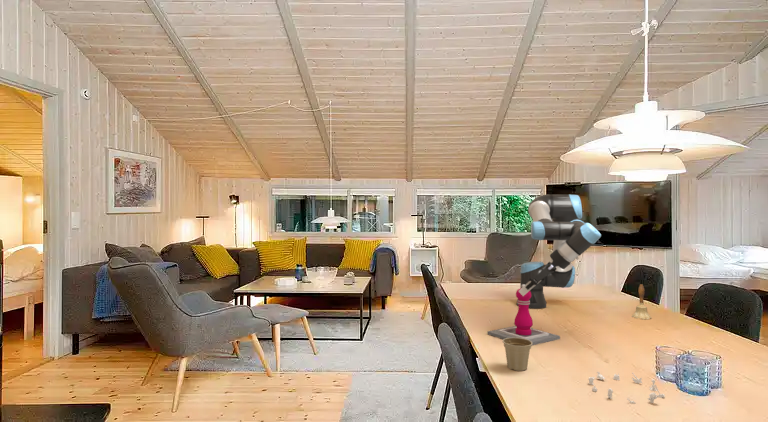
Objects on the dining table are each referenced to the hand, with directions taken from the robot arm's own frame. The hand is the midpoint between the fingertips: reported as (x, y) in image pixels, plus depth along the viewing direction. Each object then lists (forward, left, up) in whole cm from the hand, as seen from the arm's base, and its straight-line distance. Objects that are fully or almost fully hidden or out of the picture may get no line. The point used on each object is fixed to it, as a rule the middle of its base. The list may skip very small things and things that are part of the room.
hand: (524, 290), depth 188 cm
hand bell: (+7, +76, -19) cm, 79 cm away
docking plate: (0, 0, -19) cm, 19 cm away
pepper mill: (0, +1, -18) cm, 18 cm away
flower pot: (+24, -31, -19) cm, 43 cm away
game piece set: (+53, -19, -19) cm, 59 cm away
